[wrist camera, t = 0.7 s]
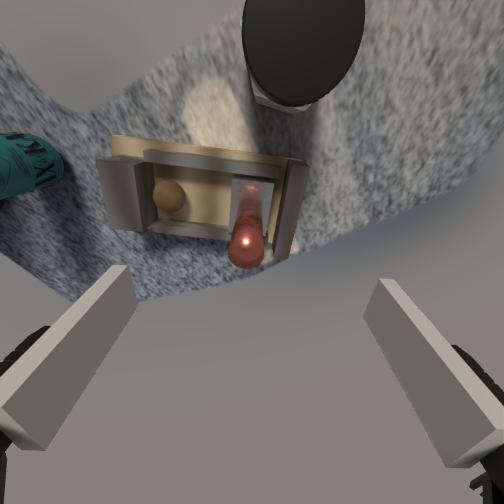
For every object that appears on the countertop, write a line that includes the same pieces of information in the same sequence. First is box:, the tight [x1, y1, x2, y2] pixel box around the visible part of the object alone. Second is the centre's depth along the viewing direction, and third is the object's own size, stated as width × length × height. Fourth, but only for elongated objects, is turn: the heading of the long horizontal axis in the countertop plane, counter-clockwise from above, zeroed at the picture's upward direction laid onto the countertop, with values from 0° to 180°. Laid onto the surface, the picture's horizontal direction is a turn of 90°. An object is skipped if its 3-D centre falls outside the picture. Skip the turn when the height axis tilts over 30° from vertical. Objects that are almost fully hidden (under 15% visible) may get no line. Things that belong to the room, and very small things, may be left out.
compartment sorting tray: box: [95, 135, 310, 259], centre depth 29 cm, size 24×12×7 cm, turn 83°
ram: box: [228, 174, 274, 269], centre depth 25 cm, size 5×7×14 cm
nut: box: [153, 180, 186, 212], centre depth 29 cm, size 4×4×4 cm
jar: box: [240, 0, 365, 114], centre depth 20 cm, size 9×8×12 cm
